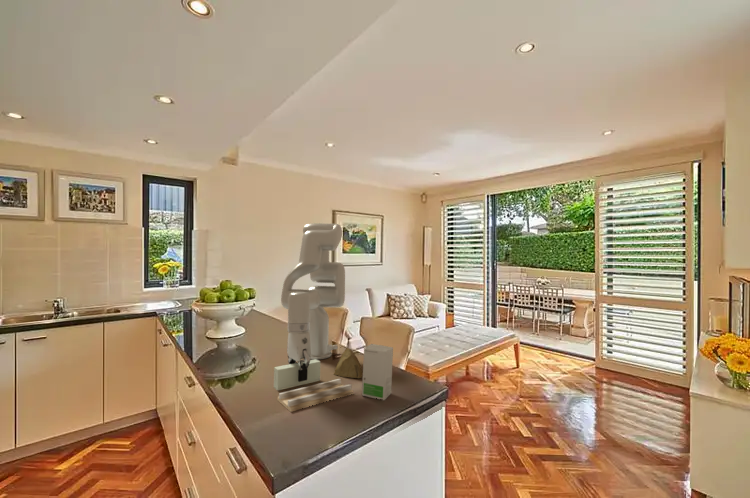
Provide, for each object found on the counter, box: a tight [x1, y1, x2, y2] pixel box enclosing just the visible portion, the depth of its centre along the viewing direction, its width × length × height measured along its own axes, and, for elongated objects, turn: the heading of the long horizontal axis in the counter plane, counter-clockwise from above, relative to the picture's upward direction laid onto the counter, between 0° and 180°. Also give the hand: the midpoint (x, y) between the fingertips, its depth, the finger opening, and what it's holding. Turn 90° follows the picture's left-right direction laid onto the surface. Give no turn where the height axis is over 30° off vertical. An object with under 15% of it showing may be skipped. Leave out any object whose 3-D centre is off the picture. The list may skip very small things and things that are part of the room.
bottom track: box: [276, 378, 354, 413], centre depth 109 cm, size 22×10×2 cm, turn 128°
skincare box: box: [361, 343, 394, 401], centre depth 111 cm, size 8×7×16 cm
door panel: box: [273, 359, 321, 391], centre depth 120 cm, size 16×4×7 cm, turn 128°
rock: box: [333, 347, 363, 379], centre depth 128 cm, size 11×9×10 cm
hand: (297, 377), depth 120 cm, fingers open, 7 cm apart
